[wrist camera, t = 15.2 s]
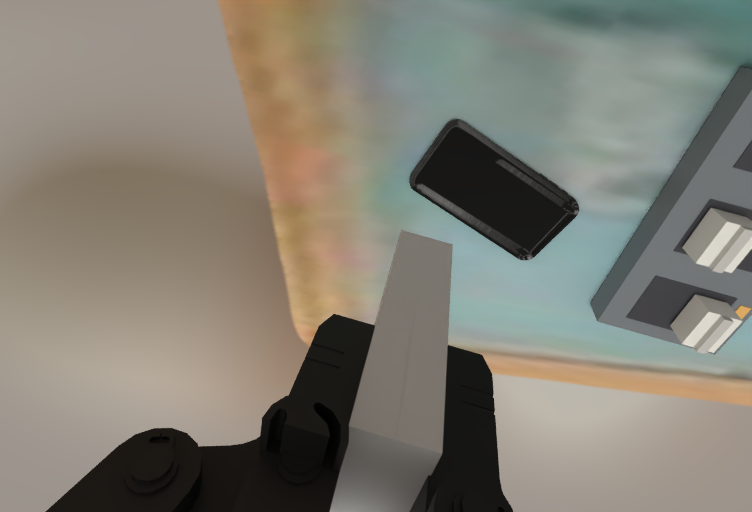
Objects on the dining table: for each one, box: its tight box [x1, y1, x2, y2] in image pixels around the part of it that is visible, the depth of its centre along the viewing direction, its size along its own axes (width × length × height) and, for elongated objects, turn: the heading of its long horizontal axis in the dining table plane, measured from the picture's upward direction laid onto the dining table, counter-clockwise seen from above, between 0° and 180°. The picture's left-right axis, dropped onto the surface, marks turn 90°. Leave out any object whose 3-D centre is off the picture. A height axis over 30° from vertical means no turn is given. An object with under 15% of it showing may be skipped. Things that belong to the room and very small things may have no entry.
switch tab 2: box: [670, 294, 743, 354], centre depth 40 cm, size 4×3×3 cm
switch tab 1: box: [682, 208, 752, 273], centre depth 35 cm, size 4×3×3 cm
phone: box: [409, 119, 579, 260], centre depth 41 cm, size 8×1×15 cm
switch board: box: [590, 66, 752, 354], centre depth 38 cm, size 24×12×3 cm, turn 168°
